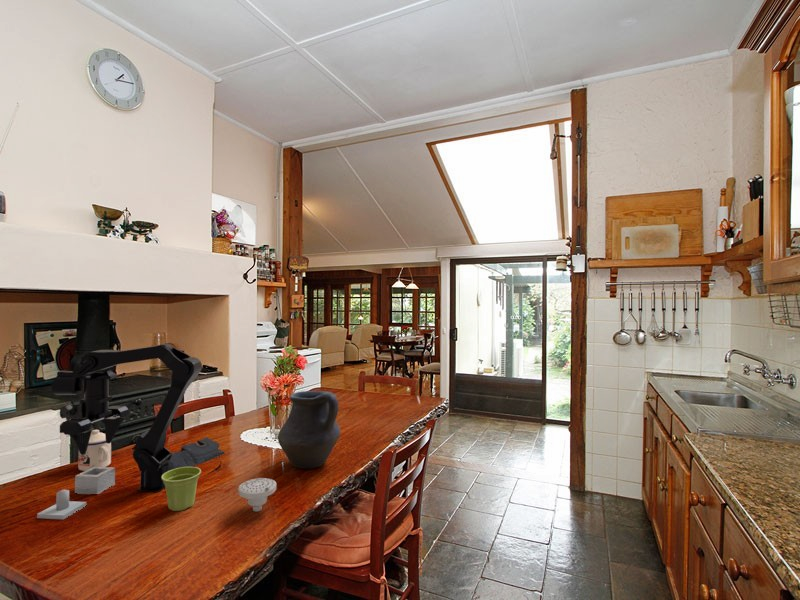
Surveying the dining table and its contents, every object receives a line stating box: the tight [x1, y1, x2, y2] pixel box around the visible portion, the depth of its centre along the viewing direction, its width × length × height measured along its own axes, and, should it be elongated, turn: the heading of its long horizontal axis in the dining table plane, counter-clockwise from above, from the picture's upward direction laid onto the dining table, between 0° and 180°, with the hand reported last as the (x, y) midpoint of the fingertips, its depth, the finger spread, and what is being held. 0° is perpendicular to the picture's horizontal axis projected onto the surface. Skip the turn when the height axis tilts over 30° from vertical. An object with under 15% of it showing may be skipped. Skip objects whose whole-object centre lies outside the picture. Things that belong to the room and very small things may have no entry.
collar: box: [74, 466, 116, 495], centre depth 121 cm, size 7×7×5 cm
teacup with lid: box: [77, 429, 112, 472], centre depth 137 cm, size 12×9×12 cm
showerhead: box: [238, 477, 277, 512], centre depth 111 cm, size 9×7×10 cm
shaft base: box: [36, 489, 88, 520], centre depth 108 cm, size 7×7×6 cm
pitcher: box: [277, 390, 341, 470], centre depth 142 cm, size 21×22×25 cm
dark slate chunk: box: [166, 436, 226, 471], centre depth 145 cm, size 15×22×5 cm
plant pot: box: [161, 466, 202, 512], centre depth 112 cm, size 9×9×9 cm
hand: (96, 448), depth 122 cm, fingers open, 9 cm apart
